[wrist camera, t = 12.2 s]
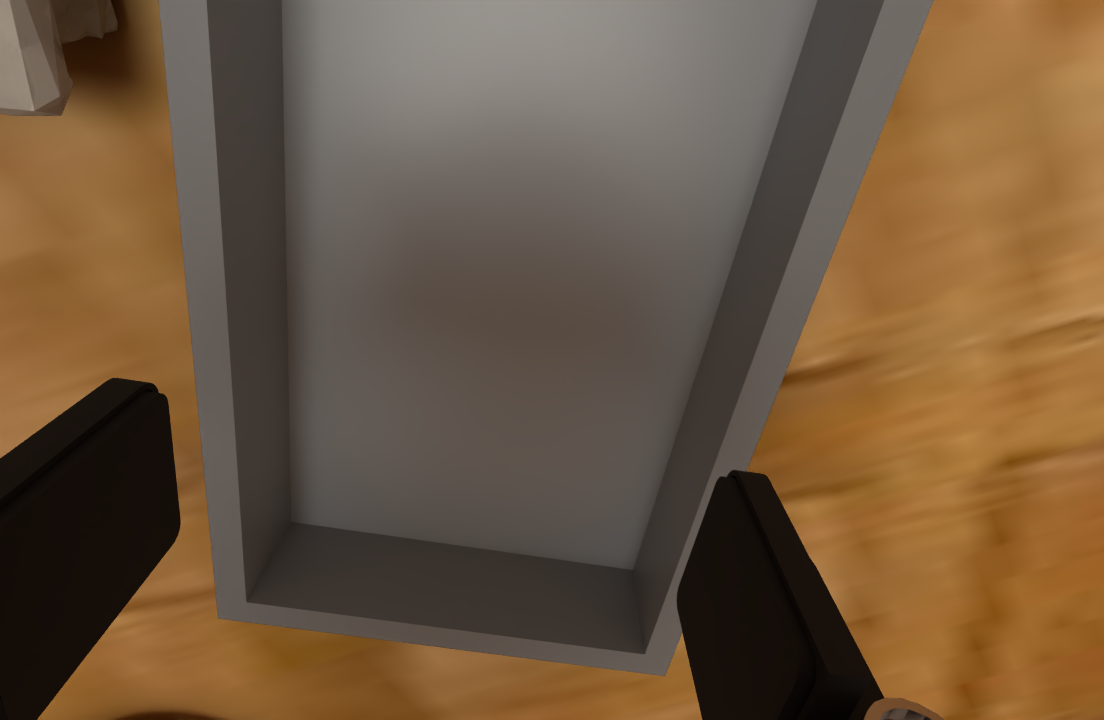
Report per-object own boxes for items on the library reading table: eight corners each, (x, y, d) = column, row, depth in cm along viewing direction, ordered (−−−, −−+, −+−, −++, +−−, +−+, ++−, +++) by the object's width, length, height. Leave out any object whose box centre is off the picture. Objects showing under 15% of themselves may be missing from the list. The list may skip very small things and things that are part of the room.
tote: (647, 572, 27) (664, 676, 23) (276, 520, 26) (218, 618, 22) (902, -180, 16) (1039, -268, 11) (249, -333, 14) (109, -500, 10)
